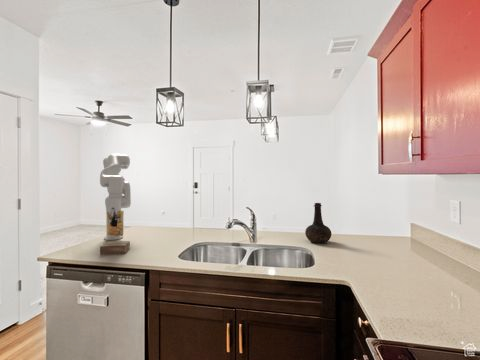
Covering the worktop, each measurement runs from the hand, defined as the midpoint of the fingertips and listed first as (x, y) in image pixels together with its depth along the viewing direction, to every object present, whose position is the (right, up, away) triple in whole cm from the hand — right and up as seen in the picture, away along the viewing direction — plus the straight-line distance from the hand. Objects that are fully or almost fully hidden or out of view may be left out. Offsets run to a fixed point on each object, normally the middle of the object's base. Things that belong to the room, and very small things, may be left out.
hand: (115, 225), depth 171 cm
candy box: (0, -7, 0) cm, 7 cm away
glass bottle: (+132, -17, +29) cm, 136 cm away
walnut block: (0, -16, 0) cm, 16 cm away
